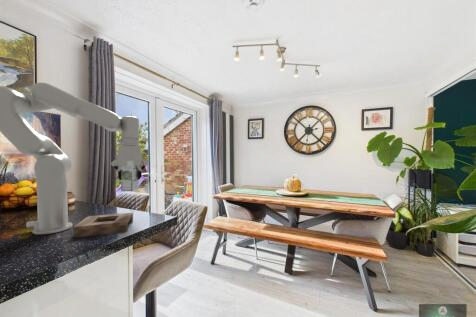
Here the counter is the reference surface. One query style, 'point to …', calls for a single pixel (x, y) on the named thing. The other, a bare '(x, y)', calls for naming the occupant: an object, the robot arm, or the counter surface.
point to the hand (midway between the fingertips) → (130, 179)
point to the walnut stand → (103, 224)
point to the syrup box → (129, 177)
